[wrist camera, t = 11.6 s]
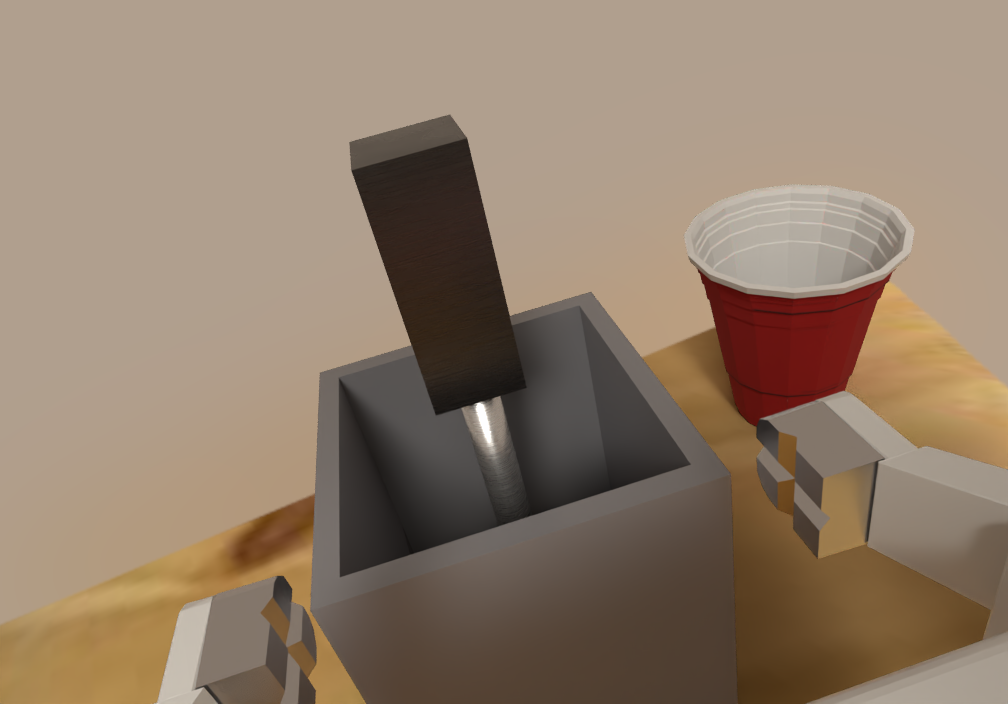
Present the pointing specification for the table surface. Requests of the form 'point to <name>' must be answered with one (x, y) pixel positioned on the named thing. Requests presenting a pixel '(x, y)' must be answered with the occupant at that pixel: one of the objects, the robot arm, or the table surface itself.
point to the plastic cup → (794, 286)
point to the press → (525, 533)
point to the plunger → (447, 286)
